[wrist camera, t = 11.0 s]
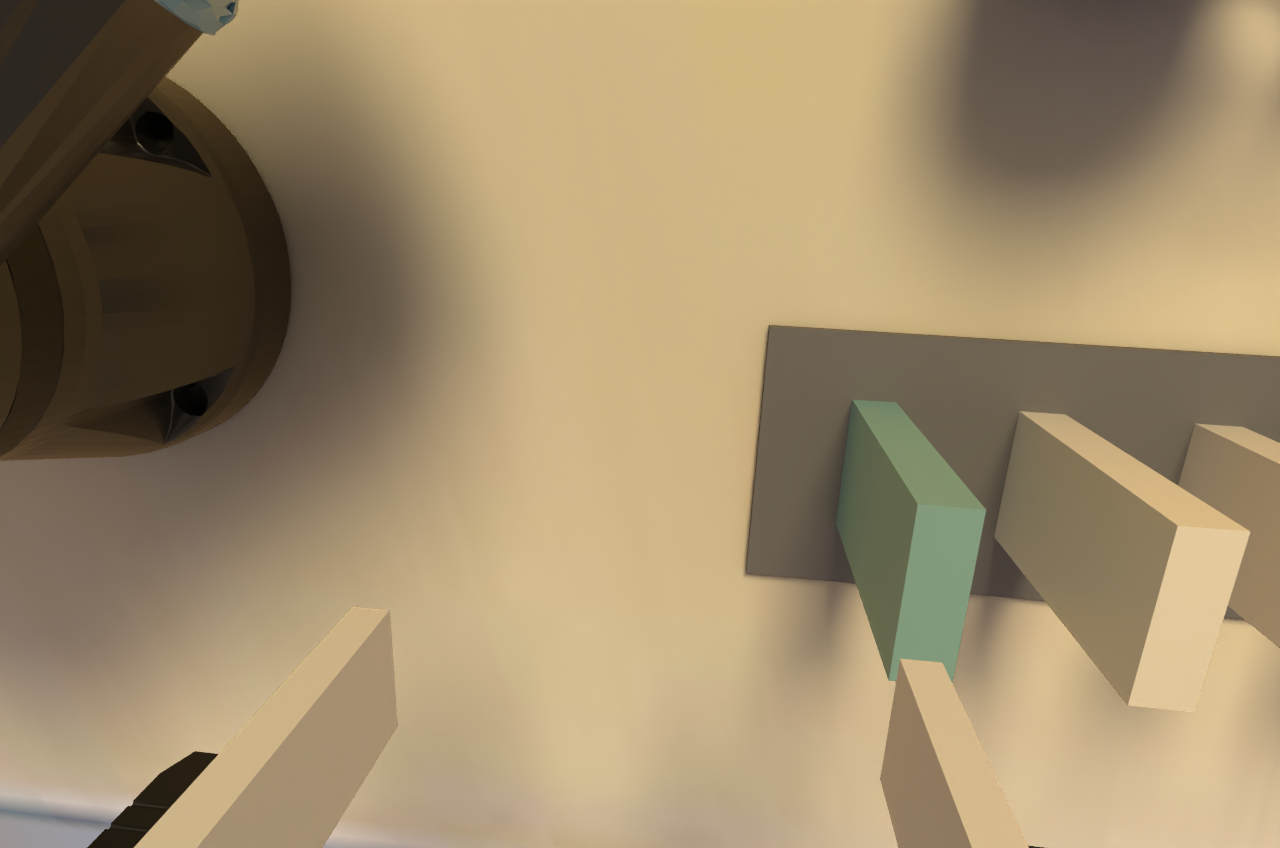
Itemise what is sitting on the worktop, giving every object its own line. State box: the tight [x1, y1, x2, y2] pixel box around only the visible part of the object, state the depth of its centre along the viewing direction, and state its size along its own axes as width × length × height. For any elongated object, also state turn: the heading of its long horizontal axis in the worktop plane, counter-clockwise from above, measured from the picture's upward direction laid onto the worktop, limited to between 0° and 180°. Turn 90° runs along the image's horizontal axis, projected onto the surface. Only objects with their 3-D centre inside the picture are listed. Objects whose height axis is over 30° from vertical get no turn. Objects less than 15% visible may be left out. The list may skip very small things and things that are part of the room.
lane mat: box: [746, 325, 1280, 619], centre depth 27 cm, size 34×10×1 cm, turn 87°
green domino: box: [836, 399, 986, 683], centre depth 24 cm, size 2×5×10 cm, turn 177°
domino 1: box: [994, 411, 1250, 712], centre depth 23 cm, size 2×5×10 cm, turn 178°
